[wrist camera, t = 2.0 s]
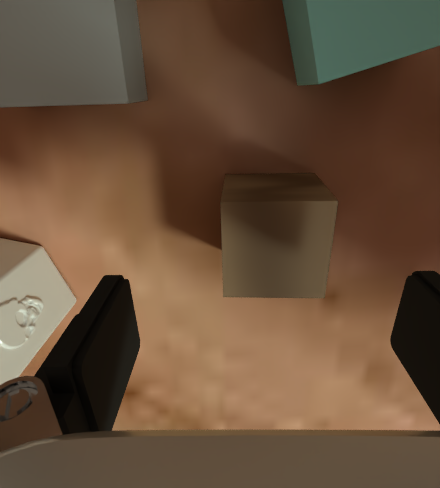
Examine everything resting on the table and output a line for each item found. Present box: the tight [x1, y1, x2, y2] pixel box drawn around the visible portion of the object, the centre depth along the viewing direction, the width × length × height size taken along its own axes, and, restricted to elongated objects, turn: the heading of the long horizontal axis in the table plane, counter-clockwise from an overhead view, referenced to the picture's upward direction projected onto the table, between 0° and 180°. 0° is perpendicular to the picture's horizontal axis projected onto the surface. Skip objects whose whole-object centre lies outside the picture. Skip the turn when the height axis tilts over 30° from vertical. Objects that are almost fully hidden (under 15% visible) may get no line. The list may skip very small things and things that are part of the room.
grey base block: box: [0, 0, 148, 107], centre depth 13 cm, size 7×7×4 cm
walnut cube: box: [220, 173, 338, 298], centre depth 17 cm, size 5×5×5 cm
